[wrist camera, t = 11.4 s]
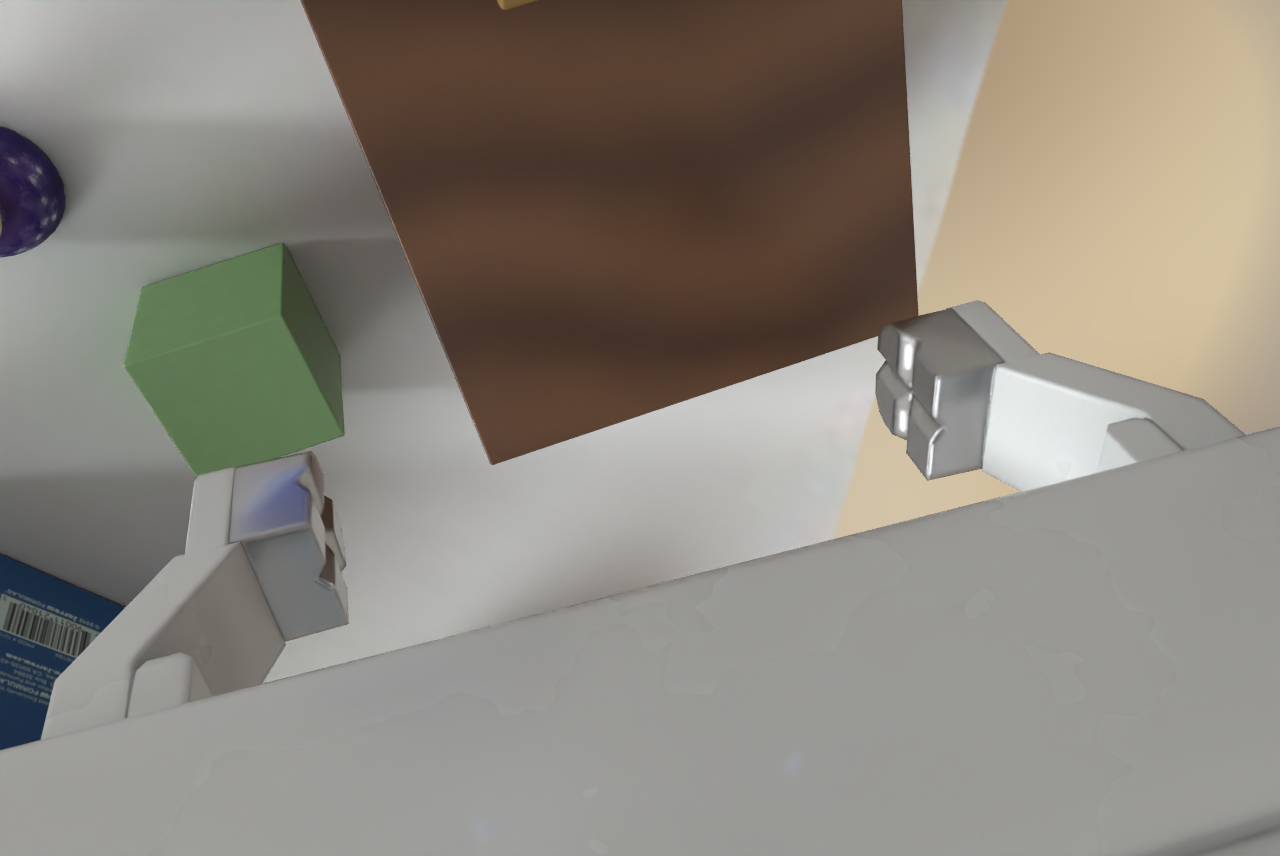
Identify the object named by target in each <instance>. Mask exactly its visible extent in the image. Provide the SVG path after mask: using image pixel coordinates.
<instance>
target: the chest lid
mask: <svg viewBox="0 0 1280 856" xmlns="http://www.w3.org/2000/svg"><path fill="white" fill-rule="evenodd" d="M301 3H302V5H303V8H304V10H305V12H306V15H307V17H308V20H309V22H310V25H311V27H312V30H313V32H314V34H315V37H316V39H317V42H318V44H319V47H320V49H321V52H322V54H323V56H324V59H325V61H326V64H327V66H328V69H329V71H330V73H331V76H332V78H333V81H334V83H335V86H336V88H337V91H338V93H339V95H340V98H341V100H342V103H343V105H344V108H345V110H346V113H347V115H348V117H349V120H350V122H351V125H352V127H353V130H354V132H355V135H356V137H357V139H358V142H359V144H360V147H361V149H362V152H363V154H364V156H365V159H366V161H367V164H368V166H369V169H370V171H371V174H372V176H373V178H374V181H375V183H376V186H377V188H378V191H379V193H380V196H381V198H382V200H383V203H384V205H385V208H386V210H387V213H388V215H389V217H390V220H391V222H392V225H393V227H394V230H395V232H396V235H397V237H398V239H399V242H400V244H401V247H402V249H403V252H404V254H405V257H406V259H407V261H408V264H409V266H410V269H411V271H412V274H413V276H414V279H415V281H416V283H417V286H418V288H419V291H420V293H421V296H422V298H423V300H424V303H425V305H426V308H427V310H428V313H429V315H430V318H431V320H432V322H433V325H434V327H435V330H436V332H437V335H438V337H439V340H440V342H441V344H442V347H443V349H444V352H445V354H446V357H447V359H448V362H449V364H450V366H451V369H452V371H453V374H454V376H455V379H456V381H457V383H458V386H459V388H460V391H461V393H462V396H463V398H464V401H465V403H466V405H467V408H468V410H469V413H470V415H471V418H472V420H473V423H474V425H475V427H476V430H477V432H478V435H479V437H480V440H481V442H482V444H483V447H484V449H485V452H486V454H487V457H488V459H489V462H490V464H491V465H494V464H497V463H500V462H503V461H506V460H509V459H512V458H515V457H518V456H521V455H524V454H527V453H530V452H533V451H536V450H539V449H542V448H545V447H548V446H551V445H554V444H557V443H560V442H563V441H566V440H569V439H572V438H575V437H578V436H581V435H584V434H587V433H590V432H593V431H596V430H599V429H602V428H605V427H608V426H611V425H614V424H617V423H620V422H623V421H626V420H629V419H631V418H634V417H637V416H640V415H643V414H646V413H649V412H652V411H655V410H658V409H661V408H664V407H667V406H670V405H673V404H676V403H679V402H682V401H685V400H688V399H691V398H694V397H697V396H700V395H703V394H706V393H709V392H712V391H715V390H718V389H721V388H724V387H727V386H730V385H733V384H736V383H739V382H742V381H745V380H748V379H751V378H754V377H757V376H760V375H763V374H766V373H769V372H772V371H775V370H778V369H781V368H784V367H787V366H790V365H793V364H796V363H799V362H802V361H804V360H807V359H810V358H813V357H816V356H819V355H822V354H825V353H828V352H831V351H834V350H837V349H840V348H843V347H846V346H849V345H852V344H855V343H858V342H861V341H864V340H867V339H870V338H873V337H876V336H878V334H879V332H880V329H881V326H882V324H886V323H891V322H895V321H899V320H903V319H908V318H912V317H916V316H918V300H917V281H916V262H915V243H914V224H913V205H912V185H911V166H910V147H909V128H908V109H907V90H906V71H905V52H904V33H903V13H902V0H301Z"/></svg>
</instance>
